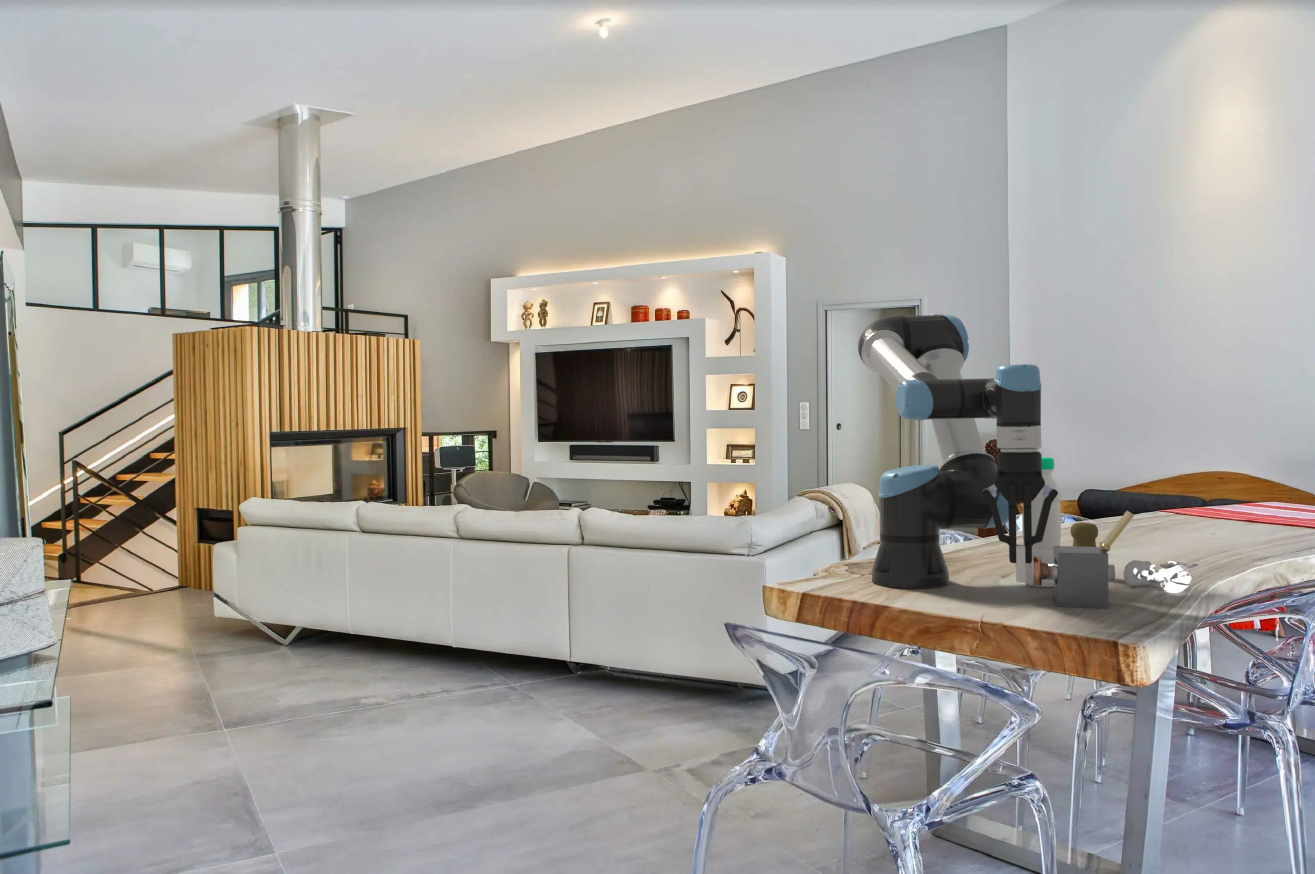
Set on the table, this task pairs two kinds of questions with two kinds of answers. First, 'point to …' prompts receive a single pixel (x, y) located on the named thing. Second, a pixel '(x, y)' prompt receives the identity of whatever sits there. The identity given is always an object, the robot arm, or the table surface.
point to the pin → (1050, 571)
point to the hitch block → (1081, 577)
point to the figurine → (1158, 575)
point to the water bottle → (1052, 527)
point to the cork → (1084, 534)
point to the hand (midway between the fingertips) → (1020, 581)
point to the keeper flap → (1116, 531)
